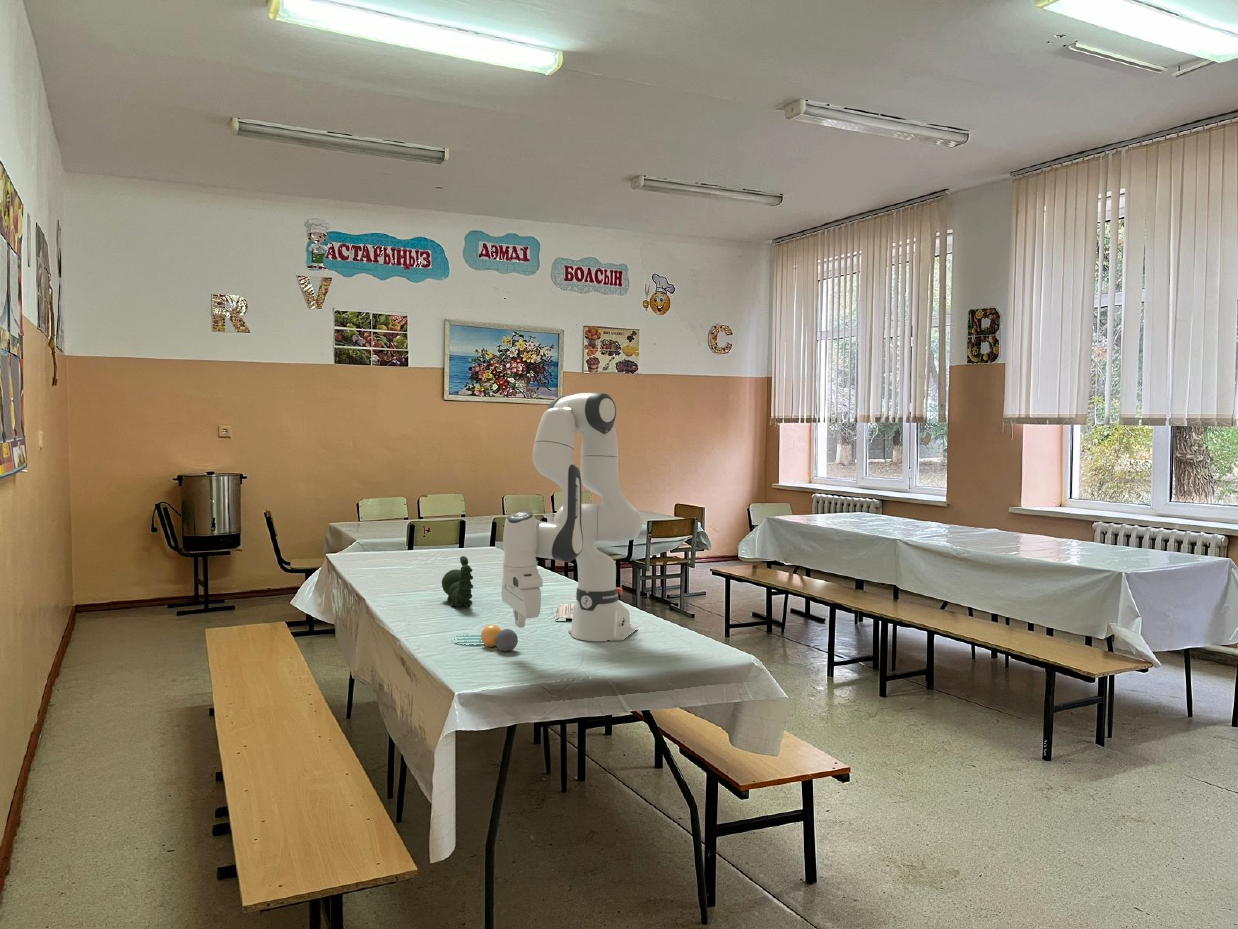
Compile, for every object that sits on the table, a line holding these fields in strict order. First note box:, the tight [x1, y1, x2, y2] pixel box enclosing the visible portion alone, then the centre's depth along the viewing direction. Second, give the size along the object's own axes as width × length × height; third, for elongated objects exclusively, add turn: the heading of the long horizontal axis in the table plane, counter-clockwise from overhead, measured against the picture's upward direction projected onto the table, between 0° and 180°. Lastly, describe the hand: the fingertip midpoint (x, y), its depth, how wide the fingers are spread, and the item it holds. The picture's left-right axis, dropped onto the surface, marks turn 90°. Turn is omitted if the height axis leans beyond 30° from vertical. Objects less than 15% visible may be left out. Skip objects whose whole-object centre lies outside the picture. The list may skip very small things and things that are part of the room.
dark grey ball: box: [496, 628, 519, 652], centre depth 227 cm, size 6×6×6 cm
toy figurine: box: [441, 555, 474, 607], centre depth 286 cm, size 9×19×25 cm
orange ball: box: [480, 624, 502, 648], centre depth 231 cm, size 6×6×6 cm
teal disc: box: [454, 635, 486, 647], centre depth 238 cm, size 14×14×1 cm
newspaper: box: [554, 603, 574, 622], centre depth 273 cm, size 23×12×2 cm, turn 3°
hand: (519, 626), depth 220 cm, fingers closed
